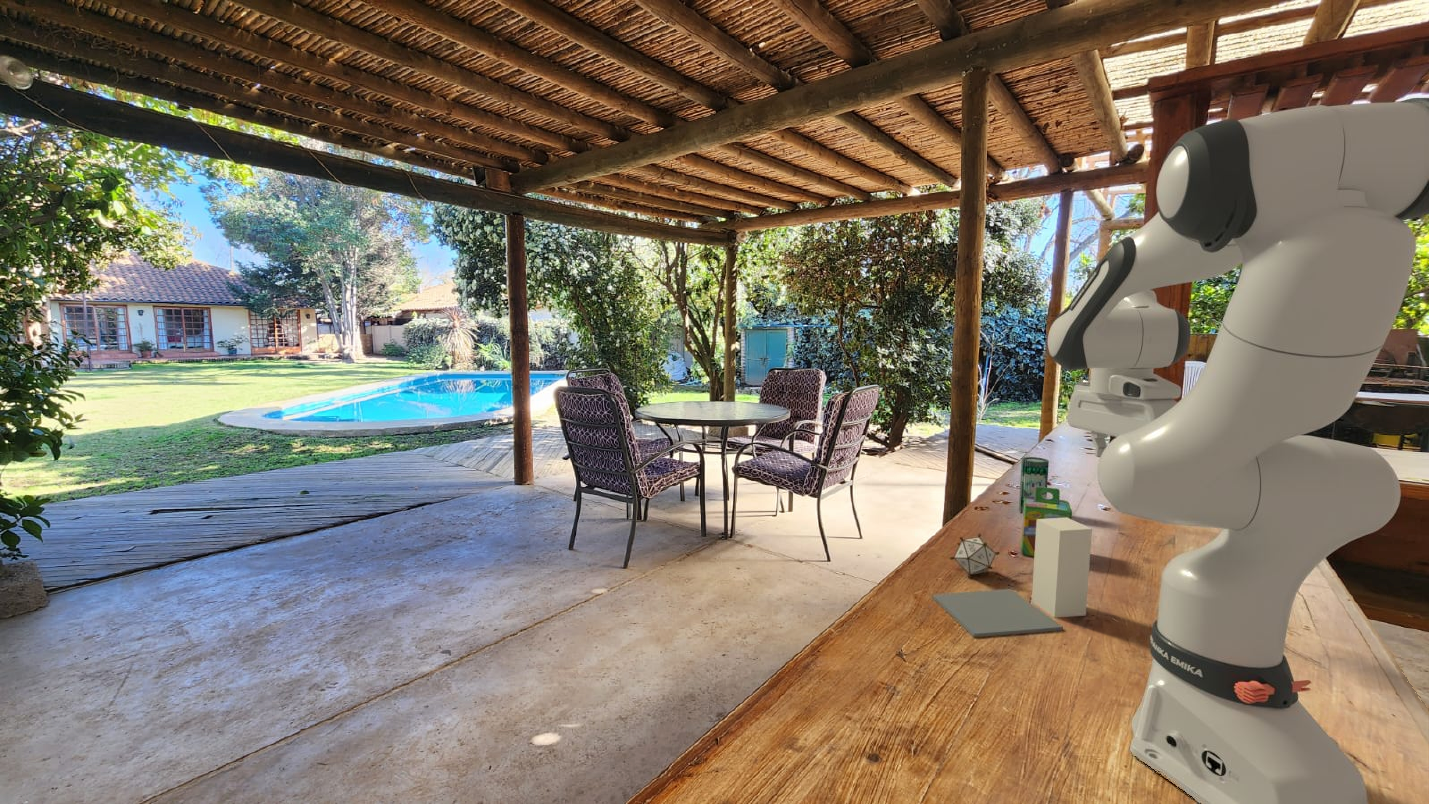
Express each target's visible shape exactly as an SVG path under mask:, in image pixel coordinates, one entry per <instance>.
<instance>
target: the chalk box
mask: <svg viewBox="0 0 1429 804" xmlns="http://www.w3.org/2000/svg"><path fill="white" fill-rule="evenodd" d="M1045 492H1047V493H1048V494H1051V495H1052V498H1048V497H1047V498H1043V497H1042V494H1043V493H1045ZM1060 492H1061V491H1060V489H1059V488H1052V487H1047V488H1045V487H1037V488H1036V492H1035V497H1031V496H1024V510H1023V514H1022V526H1021V539H1020V553H1021V555H1023V556H1027V557H1028V556H1030V557H1034V555H1035V538H1036V522H1037V519H1049V518H1066V517H1067V518H1069V519H1071V520H1073V511H1072V508H1071V505H1070V503H1069V501H1067V500H1064V499H1063V500H1062V499H1060V494H1061V493H1060Z"/></svg>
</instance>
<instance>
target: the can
mask: <svg viewBox="0 0 1429 804" xmlns="http://www.w3.org/2000/svg"><path fill="white" fill-rule="evenodd" d="M1020 464H1021V465H1020V466H1021V467H1020V482H1019V483H1020V484H1019V486H1020V487H1019V501H1018V512H1019V511H1020V512H1019V513H1020V514H1022V513H1023V510H1024V496H1031V497H1035V492H1036V488H1037V487H1045V488H1048V478H1049V465H1050V464H1049V460H1048V459H1046V458H1042V457H1037V456H1028V457H1027V456H1025V457H1022V458H1021V463H1020ZM1047 493H1048V492H1045V493H1043V494H1042V497H1043V498H1048V497H1047V495H1048V494H1047Z"/></svg>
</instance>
